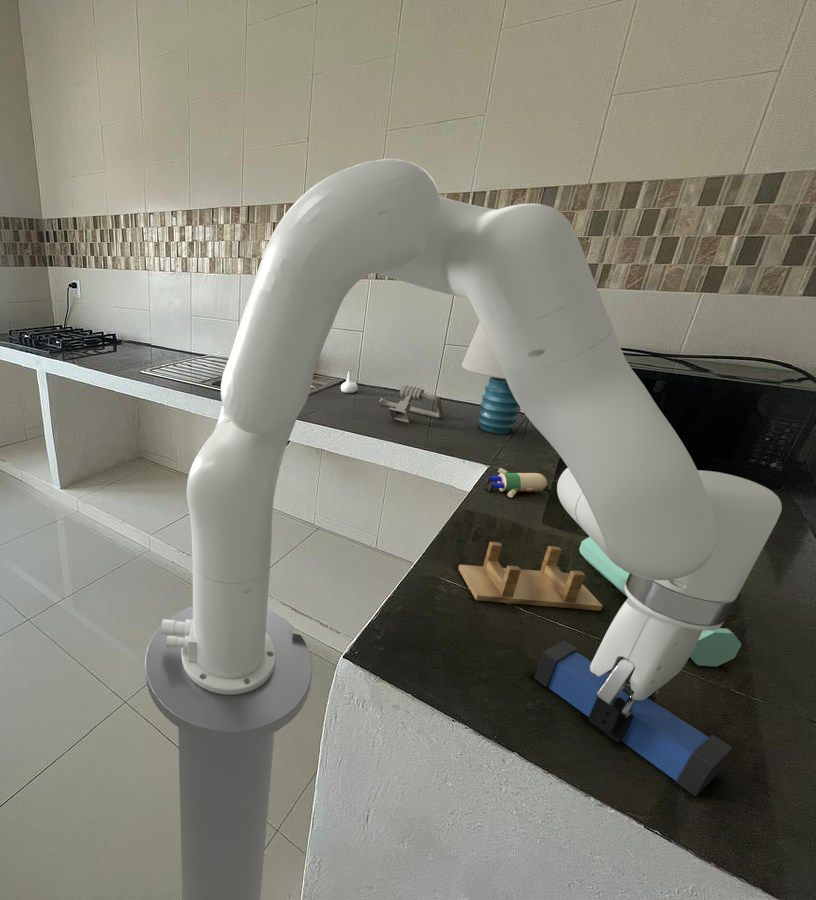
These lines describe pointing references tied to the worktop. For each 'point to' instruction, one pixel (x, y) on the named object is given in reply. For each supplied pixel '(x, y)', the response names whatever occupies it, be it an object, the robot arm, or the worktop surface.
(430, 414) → the toilet paper hanger
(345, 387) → the garlic bulb
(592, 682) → the handle
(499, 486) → the toy figurine
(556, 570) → the holder
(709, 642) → the mint octagonal rod
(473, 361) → the lamp
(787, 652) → the worktop surface
